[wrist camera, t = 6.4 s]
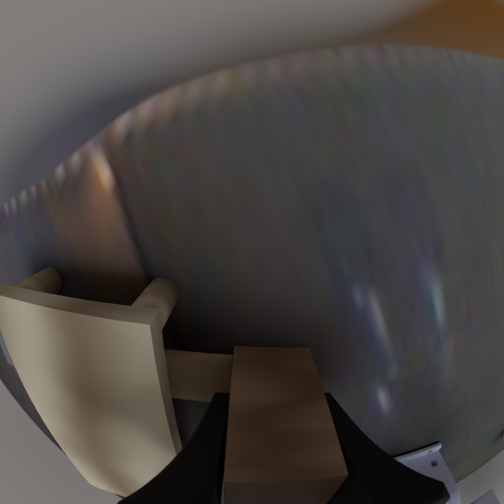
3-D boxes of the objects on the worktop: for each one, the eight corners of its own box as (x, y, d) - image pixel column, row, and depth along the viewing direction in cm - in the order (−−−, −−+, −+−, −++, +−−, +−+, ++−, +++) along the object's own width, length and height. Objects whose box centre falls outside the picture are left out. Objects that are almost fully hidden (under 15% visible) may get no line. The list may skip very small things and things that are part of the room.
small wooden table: (180, 276, 11) (149, 324, 7) (201, 470, 15) (195, 511, 12) (40, 263, 11) (-11, 292, 7) (105, 449, 15) (91, 485, 11)
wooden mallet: (309, 347, 12) (348, 474, 5) (298, 398, 13) (320, 511, 6) (40, 316, 12) (-34, 384, 5) (56, 364, 13) (0, 436, 6)
